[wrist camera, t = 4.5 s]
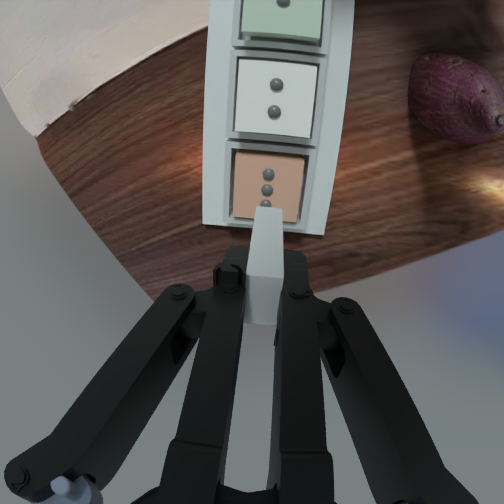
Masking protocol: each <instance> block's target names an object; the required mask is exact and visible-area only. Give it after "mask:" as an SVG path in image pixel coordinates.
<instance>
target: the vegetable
mask: <svg viewBox="0 0 504 504" xmlns="http://www.w3.org/2000/svg"><path fill="white" fill-rule="evenodd" d="M408 98H409V107H410V108H411V109H412V112H413V113H414V115H415V116H416V117H417V119H418V120H419V121H420V122H421V123H422V124H423V126H424V127H425V128H426V129H428V130H429V131H430V132H431V133H433V134H436V135H438V136H440V137H443V138H447V139H450V140H453V141H456V142H459V143H463V144H478V143H481V142H483V141H486V140H488V139H490V138H491V137H492V136H494V135H495V134H496V133H498V132H501V131H502V130H503V129H504V91H503V89H502V87H501V85H500V84H499V82H498V81H497V80H496V79H495V77H494V76H493V75H492V74H491V73H490V72H489V71H488V70H487V69H485V68H483V67H482V66H480V65H478V64H477V63H475V62H473V61H471V60H469V59H466V58H463V57H461V56H458V55H455V54H450V53H443V52H433V53H427V54H423V55H422V56H420V57H419V58H418V59H417V60H416V61H415V63H414V64H413V67H412V70H411V75H410V81H409V89H408Z"/></svg>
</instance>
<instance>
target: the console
mask: <svg viewBox="0 0 504 504" xmlns="http://www.w3.org/2000/svg"><path fill="white" fill-rule="evenodd" d="M243 3H244V0H211V1H210V13H209V26H208V40H207V56H206V74H205V96H204V125H203V224H210V225H222V226H233V227H245V228H253V224H254V218H244V217H233V200H234V178H235V157H236V153H237V151H238V149H251V150H263V151H274V152H284V153H294V154H302V156H303V159H304V169H303V176H302V184H301V191H300V198H299V205H298V212H297V219H296V222H287V221H283V231H288V232H298V233H308V234H317V235H324V231H325V226H326V221H327V215H328V210H329V205H330V199H331V194H332V188H333V182H334V177H335V171H336V165H337V158H338V152H339V145H340V139H341V132H342V125H343V117H344V110H345V102H346V94H347V85H348V76H349V67H350V57H351V46H352V33H353V19H354V3H355V0H323V3H322V17H321V31H320V39H319V40H318V41H317V42H315V43H314V42H307V41H299V40H291V39H281V38H269V37H252V36H244V34H243V33H242V32H241V28H242V15H243ZM239 59H241V60H260V61H273V62H284V63H293V64H302V65H309V66H316V67H317V76H316V86H315V96H314V105H313V114H312V123H311V131H310V138H306V137H297V136H288V135H279V134H268V133H256V132H242V131H235V119H236V102H237V86H238V70H239Z"/></svg>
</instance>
